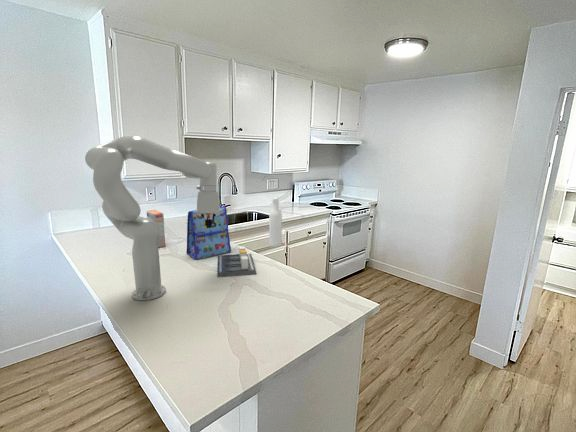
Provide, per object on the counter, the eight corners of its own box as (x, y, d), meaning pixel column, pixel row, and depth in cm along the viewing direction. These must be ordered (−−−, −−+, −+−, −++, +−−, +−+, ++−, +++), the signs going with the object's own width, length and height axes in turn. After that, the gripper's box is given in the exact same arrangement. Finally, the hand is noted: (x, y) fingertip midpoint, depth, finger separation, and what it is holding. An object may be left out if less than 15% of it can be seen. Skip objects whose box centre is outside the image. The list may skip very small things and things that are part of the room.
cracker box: (166, 246, 185) (163, 213, 180) (156, 248, 181) (153, 214, 176) (158, 241, 195) (156, 209, 191) (148, 243, 191) (145, 210, 187)
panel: (255, 274, 145) (255, 269, 144) (217, 276, 141) (217, 272, 141) (251, 257, 168) (251, 253, 167) (217, 259, 164) (217, 255, 164)
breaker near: (248, 268, 146) (247, 258, 145) (241, 269, 145) (241, 259, 144) (247, 265, 149) (247, 256, 148) (241, 266, 149) (241, 256, 148)
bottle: (267, 244, 192) (267, 197, 185) (279, 242, 195) (279, 196, 188) (271, 247, 184) (271, 199, 178) (283, 246, 187) (283, 198, 181)
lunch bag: (195, 260, 162) (192, 207, 156) (186, 254, 172) (182, 204, 166) (231, 252, 175) (230, 203, 169) (220, 246, 185) (219, 200, 179)
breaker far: (245, 257, 161) (245, 248, 160) (239, 257, 160) (239, 248, 159) (245, 254, 165) (244, 246, 164) (239, 255, 164) (239, 246, 163)
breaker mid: (246, 262, 153) (246, 252, 152) (240, 263, 153) (240, 252, 151) (246, 260, 157) (246, 249, 156) (240, 260, 156) (240, 250, 155)
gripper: (190, 189, 135) (191, 229, 139) (224, 190, 138) (224, 229, 142) (192, 187, 143) (192, 225, 146) (224, 188, 146) (224, 225, 149)
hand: (208, 227), depth 144 cm, fingers closed
